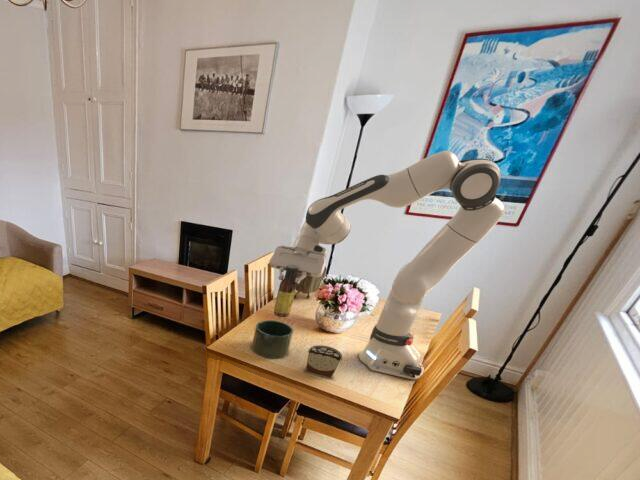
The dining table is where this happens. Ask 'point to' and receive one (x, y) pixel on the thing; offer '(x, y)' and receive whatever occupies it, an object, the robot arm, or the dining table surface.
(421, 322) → the dining table surface
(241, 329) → the dining table surface
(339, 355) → the food container
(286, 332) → the bottle cooler
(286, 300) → the sauce bottle
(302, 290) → the tabletop clock
